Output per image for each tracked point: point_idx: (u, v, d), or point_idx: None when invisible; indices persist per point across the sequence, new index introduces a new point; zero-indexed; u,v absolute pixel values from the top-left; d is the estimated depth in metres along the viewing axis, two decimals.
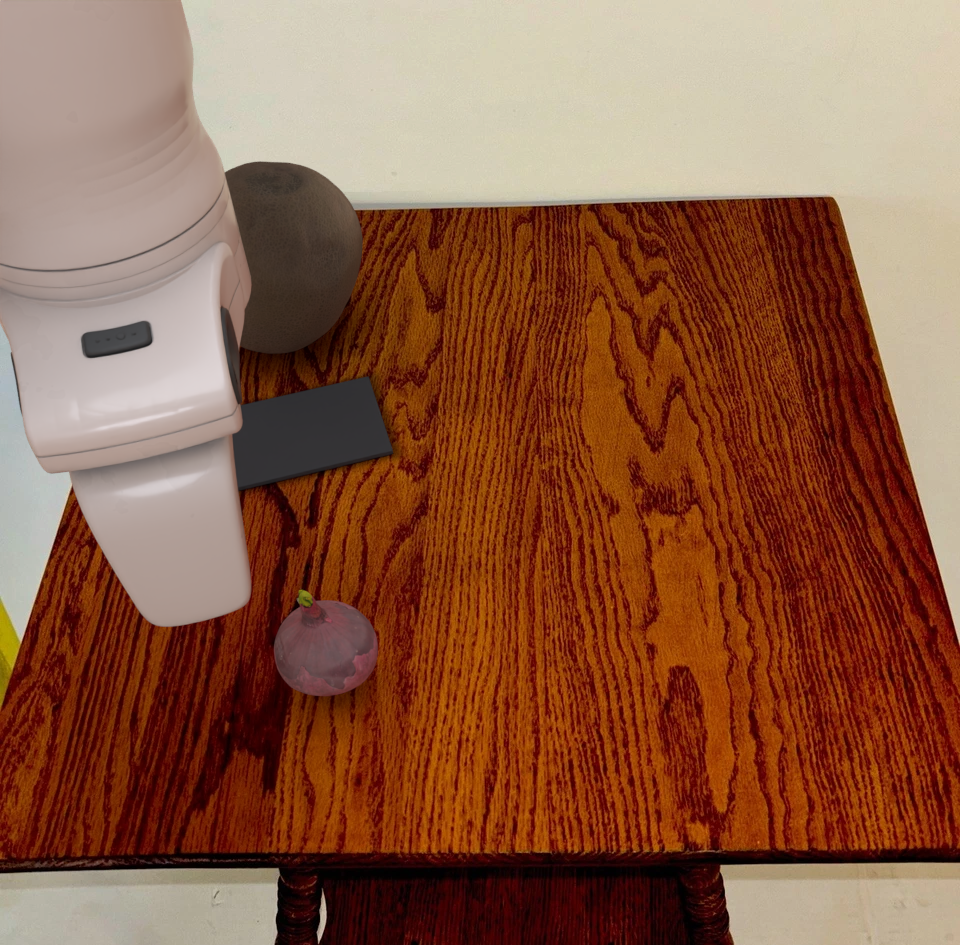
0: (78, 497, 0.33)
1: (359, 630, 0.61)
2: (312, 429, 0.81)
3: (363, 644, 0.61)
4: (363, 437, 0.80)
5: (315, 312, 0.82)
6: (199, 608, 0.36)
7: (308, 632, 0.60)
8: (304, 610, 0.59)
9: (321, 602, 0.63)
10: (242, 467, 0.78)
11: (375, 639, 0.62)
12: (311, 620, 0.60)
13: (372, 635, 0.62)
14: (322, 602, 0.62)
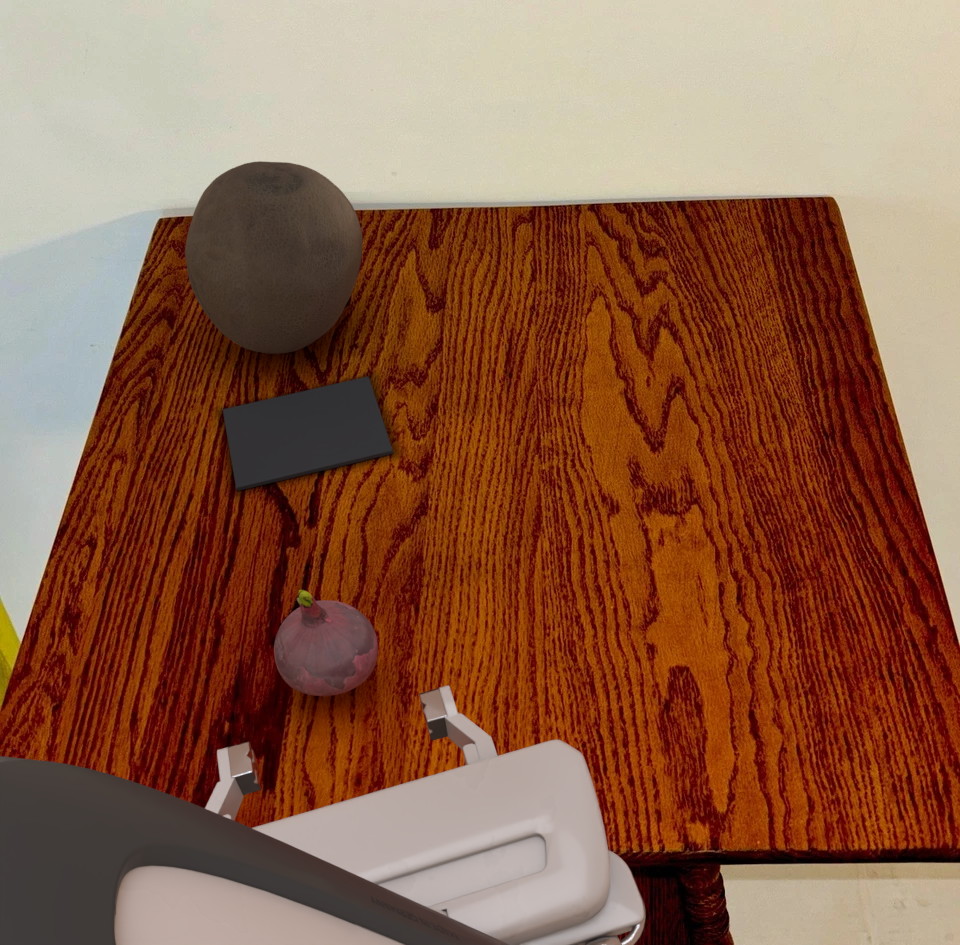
0: None
1: (359, 630, 0.61)
2: (312, 429, 0.81)
3: (363, 644, 0.61)
4: (363, 437, 0.80)
5: (315, 312, 0.82)
6: None
7: (308, 632, 0.60)
8: (304, 610, 0.59)
9: (321, 602, 0.63)
10: (242, 467, 0.78)
11: (375, 639, 0.62)
12: (311, 620, 0.60)
13: (372, 635, 0.62)
14: (322, 602, 0.62)
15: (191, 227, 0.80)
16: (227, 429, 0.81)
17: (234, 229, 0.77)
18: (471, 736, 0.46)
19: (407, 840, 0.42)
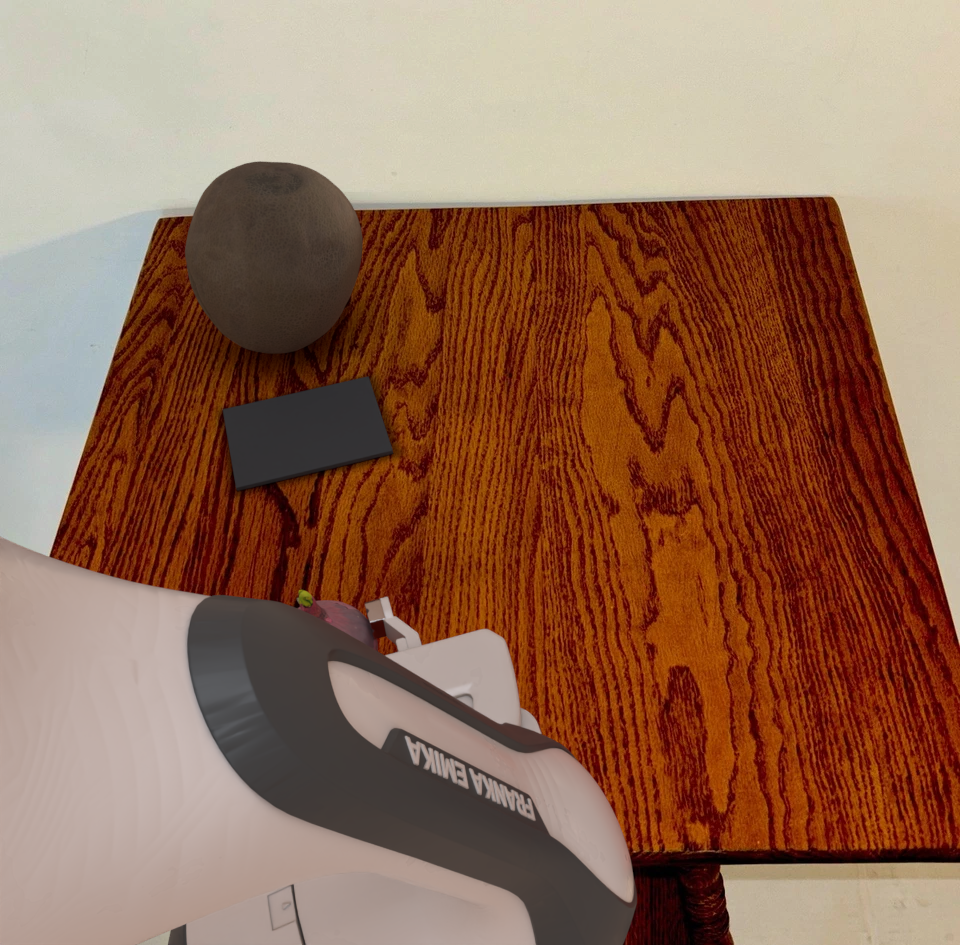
0: None
1: (359, 629, 0.61)
2: (312, 429, 0.81)
3: None
4: (363, 437, 0.80)
5: (315, 312, 0.82)
6: None
7: None
8: (304, 610, 0.59)
9: (321, 602, 0.63)
10: (242, 467, 0.78)
11: (375, 639, 0.62)
12: None
13: None
14: (322, 602, 0.62)
15: (191, 227, 0.80)
16: (227, 429, 0.81)
17: (234, 229, 0.77)
18: (402, 632, 0.60)
19: None
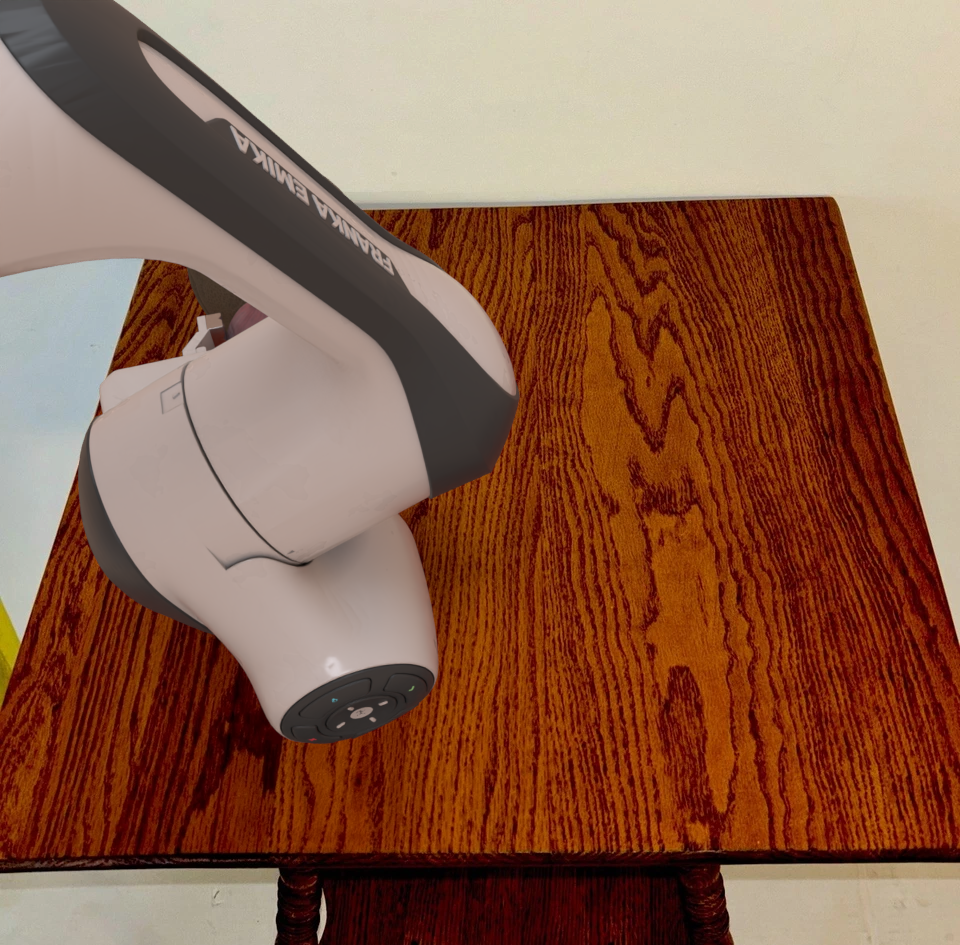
0: None
1: None
2: None
3: None
4: None
5: None
6: None
7: (257, 312, 0.63)
8: None
9: None
10: None
11: None
12: None
13: None
14: None
15: None
16: None
17: None
18: None
19: None
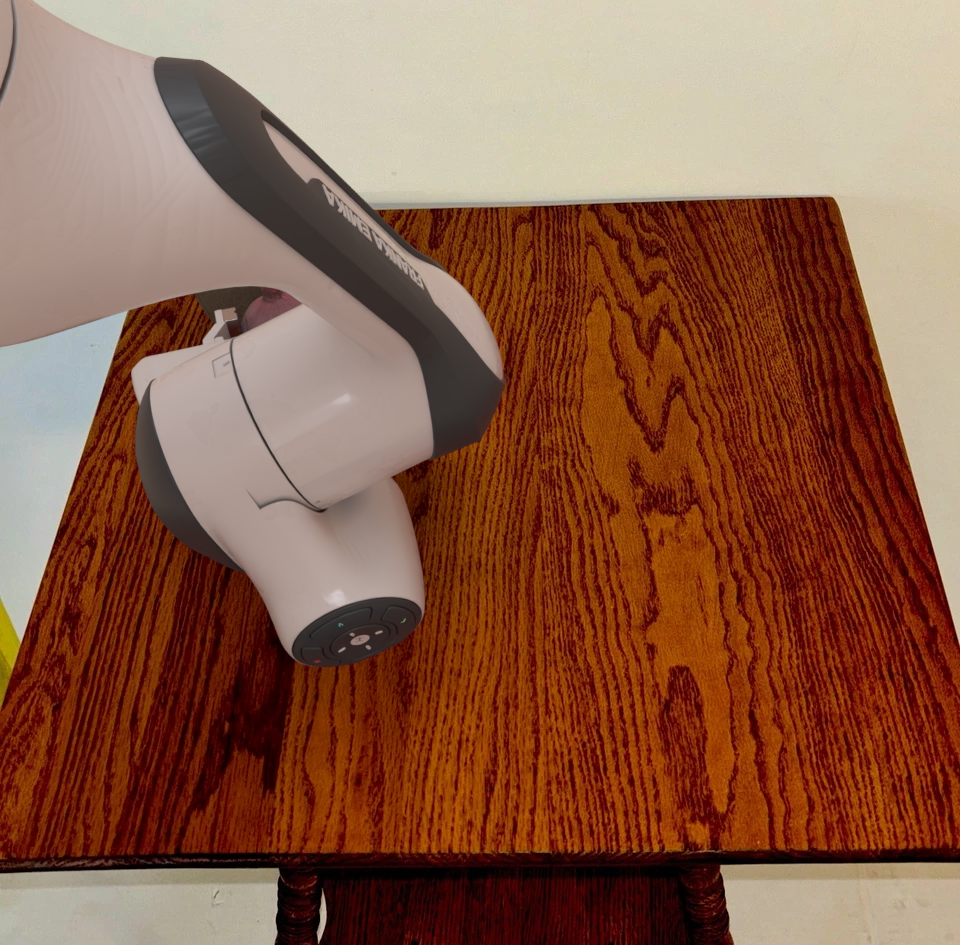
0: None
1: None
2: None
3: None
4: None
5: None
6: None
7: (267, 306, 0.71)
8: None
9: None
10: None
11: None
12: (269, 294, 0.71)
13: None
14: None
15: None
16: None
17: None
18: None
19: None
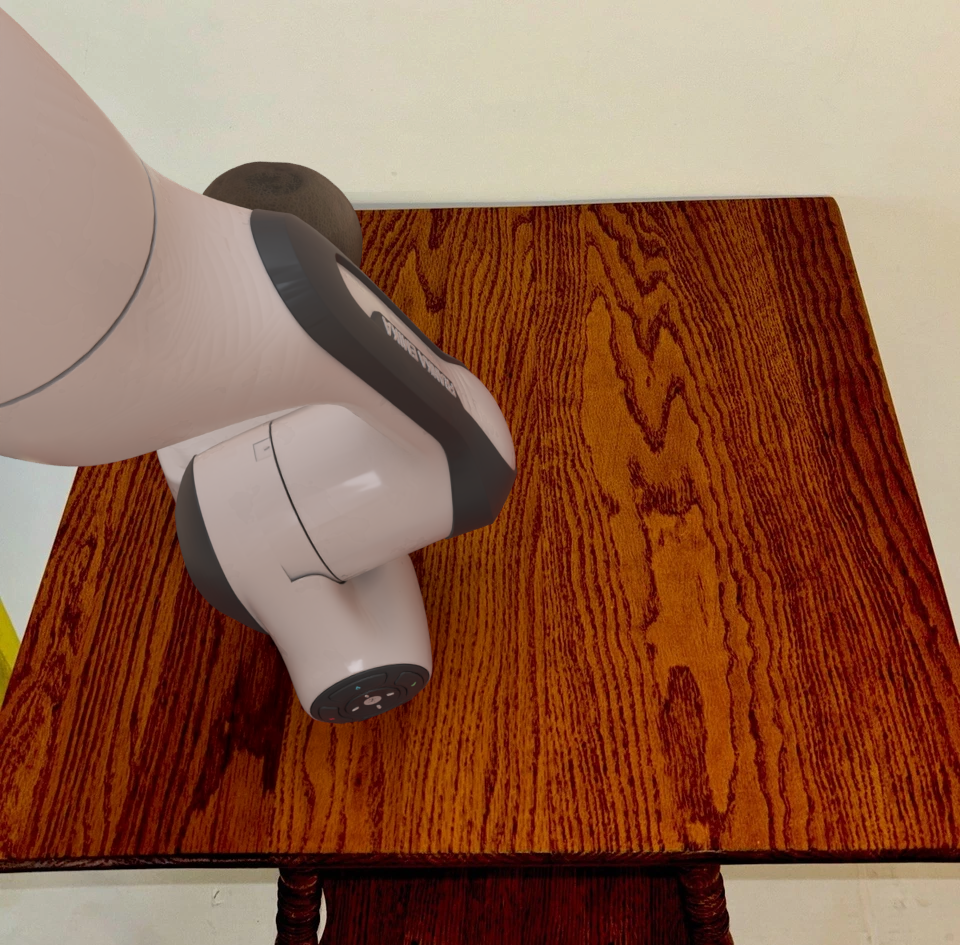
0: (177, 480, 0.67)
1: None
2: None
3: None
4: None
5: None
6: None
7: None
8: None
9: None
10: None
11: None
12: None
13: None
14: None
15: None
16: None
17: None
18: None
19: None
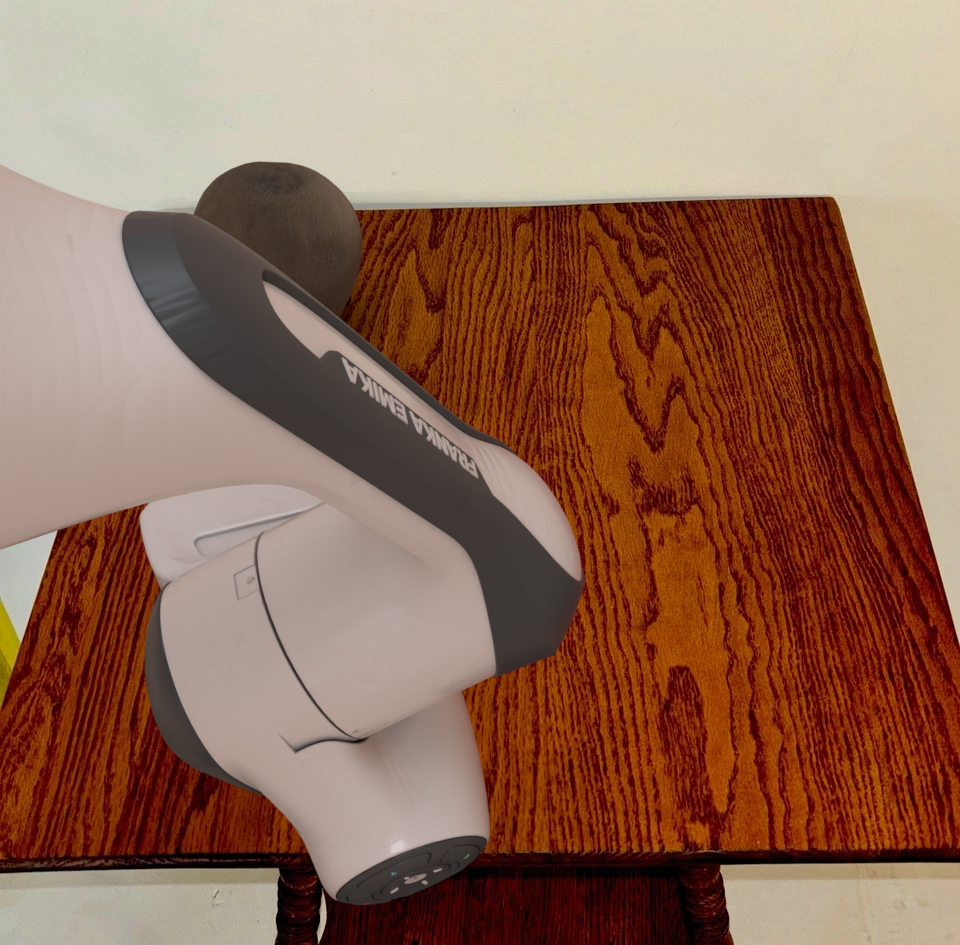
0: (166, 576, 0.54)
1: None
2: None
3: None
4: None
5: None
6: None
7: None
8: None
9: None
10: None
11: None
12: None
13: None
14: None
15: None
16: None
17: (234, 229, 0.77)
18: None
19: None
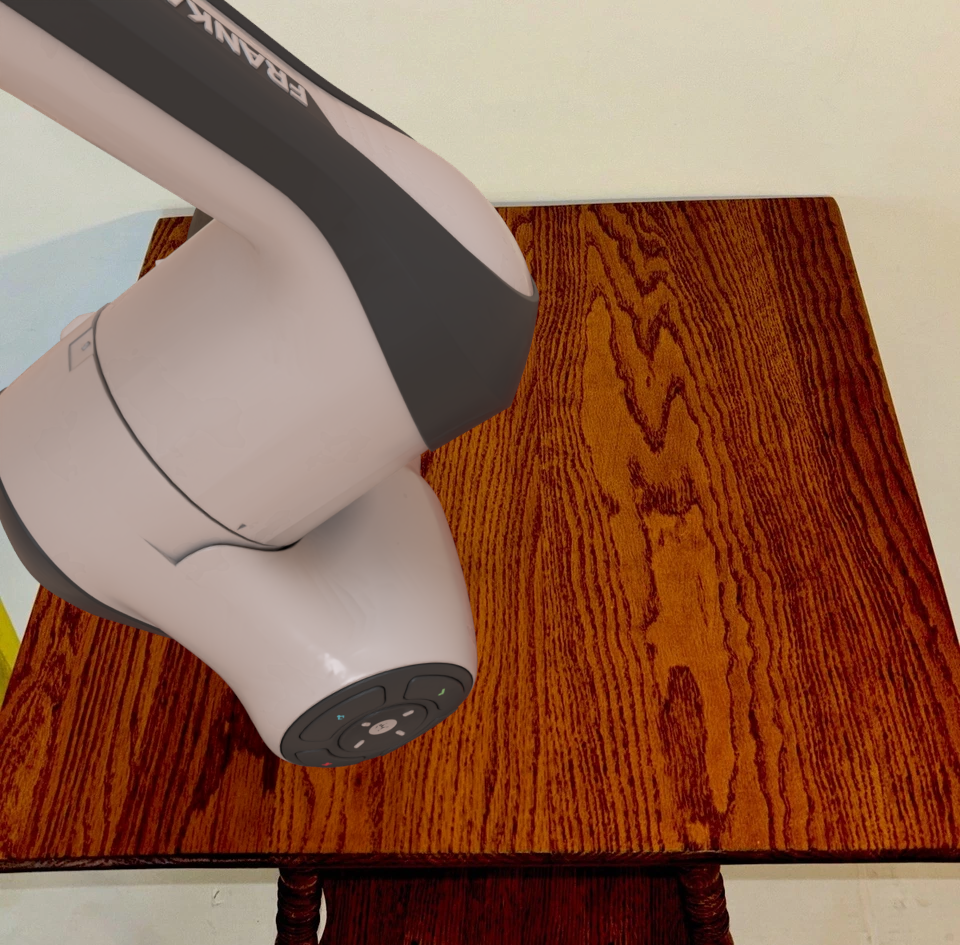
0: None
1: None
2: None
3: None
4: None
5: None
6: None
7: None
8: None
9: None
10: None
11: None
12: None
13: None
14: None
15: (191, 227, 0.80)
16: None
17: None
18: None
19: None
